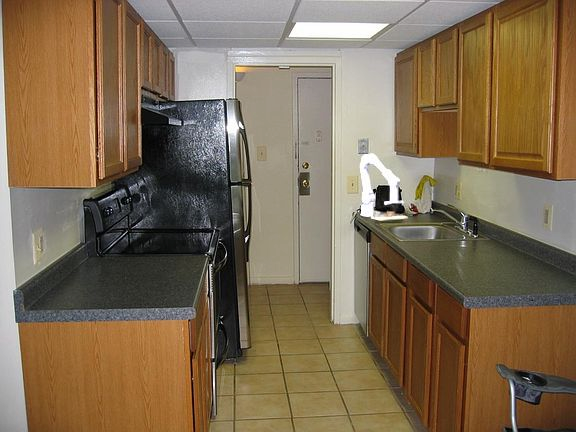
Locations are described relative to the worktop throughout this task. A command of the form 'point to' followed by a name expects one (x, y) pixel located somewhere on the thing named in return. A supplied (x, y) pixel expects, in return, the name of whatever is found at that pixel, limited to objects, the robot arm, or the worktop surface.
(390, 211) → the carriage
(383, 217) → the gauge board
